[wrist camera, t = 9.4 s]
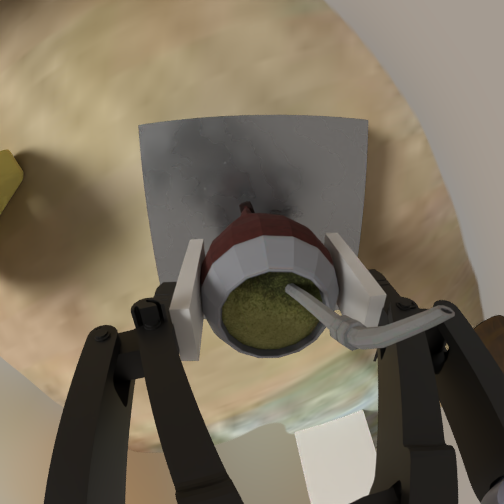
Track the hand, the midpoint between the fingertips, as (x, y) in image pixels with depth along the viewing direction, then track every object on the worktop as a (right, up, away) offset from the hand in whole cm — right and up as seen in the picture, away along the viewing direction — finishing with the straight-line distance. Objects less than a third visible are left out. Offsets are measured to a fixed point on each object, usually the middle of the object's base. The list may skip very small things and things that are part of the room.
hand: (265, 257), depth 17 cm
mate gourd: (0, +1, +3) cm, 3 cm away
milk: (+14, -32, +26) cm, 43 cm away
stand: (0, +4, +8) cm, 9 cm away
